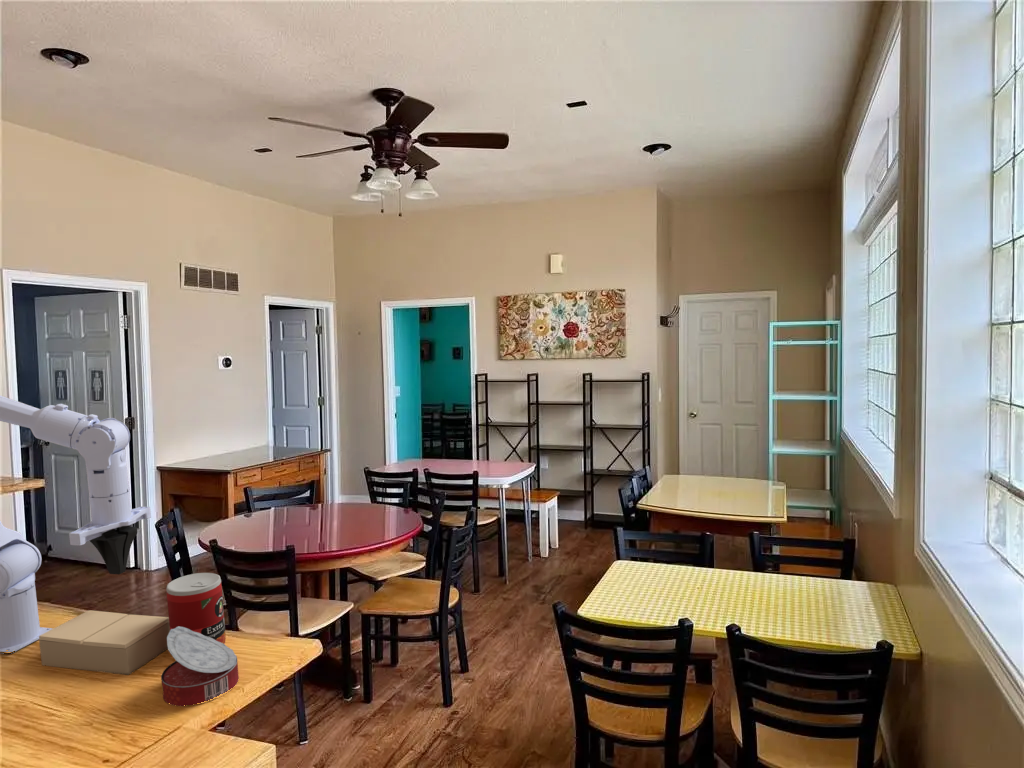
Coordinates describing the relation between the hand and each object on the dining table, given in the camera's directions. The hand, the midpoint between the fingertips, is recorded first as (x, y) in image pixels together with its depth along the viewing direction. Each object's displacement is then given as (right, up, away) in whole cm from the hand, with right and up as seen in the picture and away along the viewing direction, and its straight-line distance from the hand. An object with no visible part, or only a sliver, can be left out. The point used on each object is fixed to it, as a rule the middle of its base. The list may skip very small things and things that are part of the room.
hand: (117, 572), depth 111 cm
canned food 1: (+16, -11, -5) cm, 20 cm away
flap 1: (-2, -7, -6) cm, 9 cm away
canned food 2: (+22, -12, -16) cm, 30 cm away
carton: (+3, -11, -7) cm, 13 cm away
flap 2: (+6, -7, -8) cm, 12 cm away
